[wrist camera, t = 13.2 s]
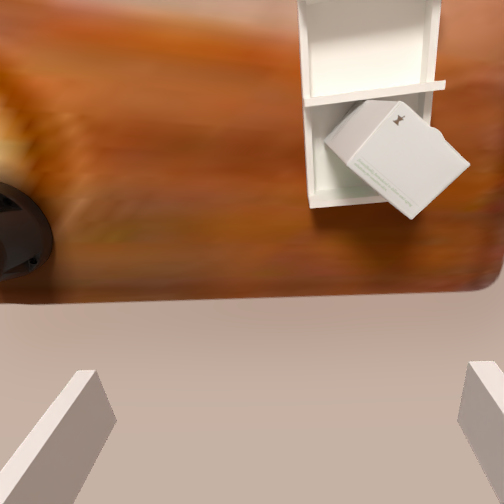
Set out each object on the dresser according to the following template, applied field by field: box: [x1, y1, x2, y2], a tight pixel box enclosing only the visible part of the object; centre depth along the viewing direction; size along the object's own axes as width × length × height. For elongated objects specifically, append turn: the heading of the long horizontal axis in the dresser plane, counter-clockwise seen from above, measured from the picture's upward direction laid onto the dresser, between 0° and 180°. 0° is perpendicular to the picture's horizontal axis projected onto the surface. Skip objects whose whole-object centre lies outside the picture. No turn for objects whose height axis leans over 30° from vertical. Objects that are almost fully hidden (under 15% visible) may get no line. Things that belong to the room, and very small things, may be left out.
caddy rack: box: [297, 0, 446, 208], centre depth 38 cm, size 14×22×6 cm, turn 7°
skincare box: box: [323, 100, 470, 220], centre depth 34 cm, size 8×7×16 cm
